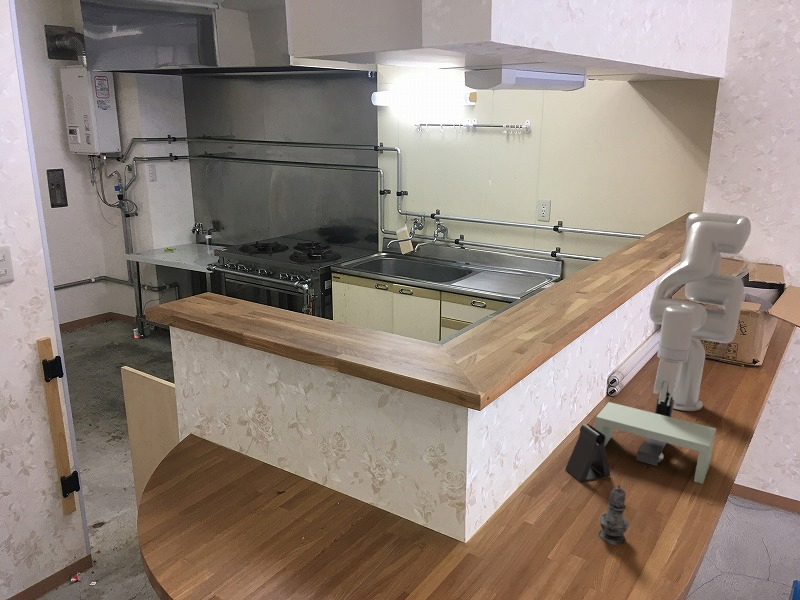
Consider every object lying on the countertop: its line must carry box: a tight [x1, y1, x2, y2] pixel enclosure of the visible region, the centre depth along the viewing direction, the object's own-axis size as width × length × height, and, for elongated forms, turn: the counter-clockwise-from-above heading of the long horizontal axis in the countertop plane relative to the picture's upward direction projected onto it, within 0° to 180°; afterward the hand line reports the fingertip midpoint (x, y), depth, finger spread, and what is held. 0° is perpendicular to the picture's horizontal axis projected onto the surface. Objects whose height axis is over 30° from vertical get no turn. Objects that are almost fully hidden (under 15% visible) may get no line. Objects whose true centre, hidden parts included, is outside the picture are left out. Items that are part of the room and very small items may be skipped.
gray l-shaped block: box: [636, 396, 674, 467], centre depth 169 cm, size 17×5×12 cm, turn 148°
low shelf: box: [594, 401, 717, 485], centre depth 166 cm, size 12×27×10 cm, turn 58°
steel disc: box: [658, 452, 665, 463], centre depth 168 cm, size 6×6×1 cm
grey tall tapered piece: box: [598, 484, 630, 546], centre depth 132 cm, size 6×6×12 cm
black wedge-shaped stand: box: [564, 423, 611, 483], centre depth 157 cm, size 9×6×12 cm, turn 110°
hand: (663, 416), depth 175 cm, fingers closed on gray l-shaped block
